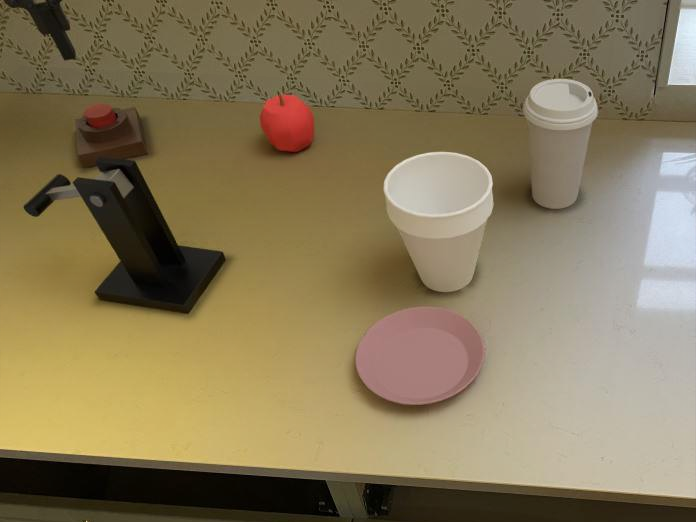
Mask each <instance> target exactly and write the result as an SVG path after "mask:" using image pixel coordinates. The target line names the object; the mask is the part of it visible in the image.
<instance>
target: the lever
mask: <svg viewBox="0 0 696 522" xmlns="http://www.w3.org/2000/svg"><path fill="white" fill-rule="evenodd" d="M93 179H96V180H104V181H112V182H115V184H116V185H117V187H118V189H119V191H120V193H121V194H122V196H123V198H125V197H126V195H127V194H128V193H129V192H130V191H131V190H132V189H133V188H134V186H133V185H132V184H131V183H130V181H129V180H128V179H127V178H126V176H125V175H124V174H123V173H122V171H121V170H120V169H116V170H110V171H104V172H100V171H99V173H98V174H97V175H96V176H95V177H94V178H93ZM75 198H82V197H81V196H80V194H79V192H78V191H77V189H76V187H75V186H74V184H71V181H70V179H68V177H67V176H66V175H64V174H60V173H57V174H56V175H55V176H54V177H52V178H51V179H50V180H49V181H48V182H47V183H46V184H45V185H44V186H42V188H41V189H40V190H38V192H36V193H35V194H34V195H33V196H32V197H31V198H30V199H29V200H28V201H27V202H26V203H24V204H23V210H24V211H25V212H26V213H27V215H30V216H31V217H34V218H38V217H40V216H41V215H42V214H43V213H44V212H45V211H46V209H48V208H49V207H50V206H51V205H52V204H53V203H54V202H55V201H60V200H68V199H75Z"/></svg>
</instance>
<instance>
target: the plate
mask: <svg viewBox="0 0 696 522" xmlns="http://www.w3.org/2000/svg"><path fill="white" fill-rule="evenodd" d="M485 349H486V348H485V343H484V340H483V337H482V335H481V333H480V331H479V330H478V328H477V327H476V326H475V325H474V324H473V323H472V322H471V321H470V320H469V319H468V318H466V317H465V316H463V315H462V314H460V313H458V312H456V311H453V310H451V309H448V308H443V307H437V306H414V307H408V308H404V309H400V310H397V311H394V312H391V313H389V314H387V315H386V316H383V317H382V318H381V319H379V320H378V321H376V322H375V323H373V325H372V326H370V327H369V328H368V329H367V330H366V332H365V333H364V334H363V336H362V337H361V339H360V341H359V343H358V345H357V348H356V352H355V367H356V371H357V374H358V376H359V378H360V380H361V382H362V383H363V385H365V386H366V387H367V389H368V390H370V391H371V392H372V393H373V394H375V395H376V396H378V397H380V398H382V399H384V400H386V401H389V402H393V403H395V404H401V405H409V406H422V405H430V404H435V403H438V402H441V401H444V400H447V399H449V398H451V397H454V396H455V395H457V394H459V393H460V392H461V391H462V392H463V390H464V389H466V388H467V387H468V386H469V385H471V383H472V382H473V381H474V380H475V379H476V377H477V376H478V375H479V373H480V371H481V369H482V367H483V364H484V361H485V353H486V352H485Z"/></svg>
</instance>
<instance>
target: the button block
mask: <svg viewBox="0 0 696 522" xmlns="http://www.w3.org/2000/svg"><path fill="white" fill-rule="evenodd" d="M112 109H113V111H114V113H115V115H116V117H117V119H116V121H115V122H113V123H111V124H109V125H107V126H103V127H91V126H90V125H89V124H88V122H87V120H86V118H85V116H84V114H83V115H82V116H81V117H80V118H75V119H74V124H75V136H76V148H77V157H78V159H79V160H80V162H81V163H82V165H83V167H84V168H85V169H87V168H93V167H97V165H96V163H95V160H96V159H97V158H98V157H99V156H101V157H109V158H117V159H126V160H129V159H131V158H135V157H140V156H145V155H148V154H149V153H148V148H147V142H146V138H145V132H144V128H143V122H142V118H141V116H140V114H139V112H138V110H137V108H136V106H132V107H128V108H123V109H122V108H119V107H112Z"/></svg>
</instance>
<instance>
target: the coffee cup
mask: <svg viewBox="0 0 696 522" xmlns="http://www.w3.org/2000/svg"><path fill="white" fill-rule="evenodd" d="M522 112H523V115H524V117H525V118H526V122H527V137H528V149H529V151H528V152H529V164H530V165H529V166H530V180H531V181H530V182H531V196H532V199H533V201H534V202H535V203H536V204H537V205H539V206H541V207H543V208H547V209H553V210H560V209H565V208H568V207H571V206H572V205H574V204H575V203H576V202H577V199H578V196H579V192H580V191H579V190H580V186H581V180H582V176H583V171H584V165H585V162H586V161H585V160H586V156H587V150H588V146H589V142H590V137H591V136H590V135H591V131H592V126H593V123H594V121H595V120H596V118H597V117H598V115H599V108H598V104H597V100H596V98H595V96H594V93H593V90H592V89H591V88H590V87H589V86H588V85H586V84H584V83H583V82H580V81H577V80H574V79H569V78H552V79H547V80H543V81H541V82H539V83H537V84H535V85H534V86H533V87H532V88H531V89H530V92H529V94H528V95H527V97H526V99H525V100H524V103H523V108H522Z"/></svg>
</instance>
